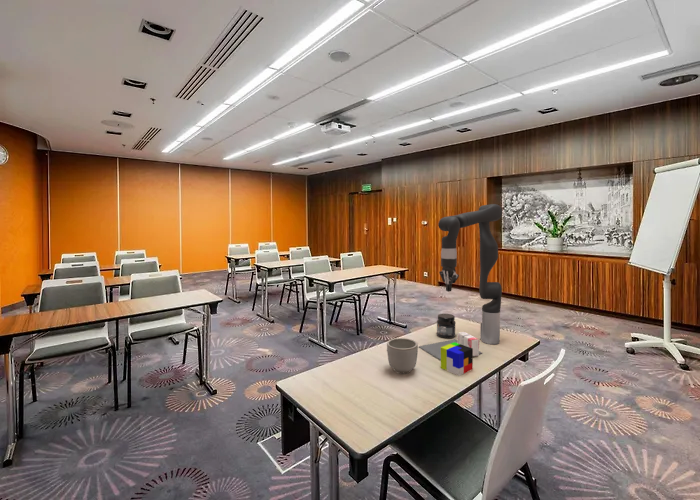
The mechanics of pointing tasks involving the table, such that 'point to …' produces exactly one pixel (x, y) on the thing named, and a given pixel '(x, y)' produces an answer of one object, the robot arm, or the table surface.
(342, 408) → the table surface
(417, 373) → the table surface
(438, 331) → the supplement container
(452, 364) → the puzzle toy
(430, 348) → the mat
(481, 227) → the robot arm
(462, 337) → the ink box
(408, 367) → the planter
